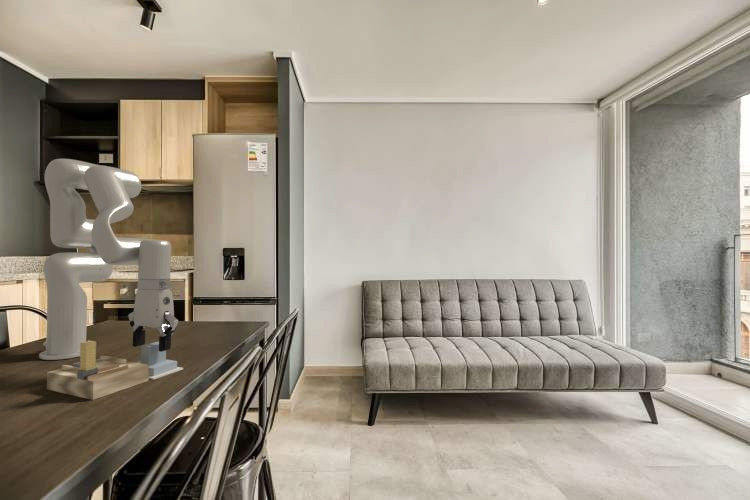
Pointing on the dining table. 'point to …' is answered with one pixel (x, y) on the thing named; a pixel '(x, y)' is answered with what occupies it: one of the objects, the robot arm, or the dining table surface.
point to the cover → (156, 359)
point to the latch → (86, 360)
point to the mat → (165, 373)
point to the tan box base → (98, 378)
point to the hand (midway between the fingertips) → (151, 347)
